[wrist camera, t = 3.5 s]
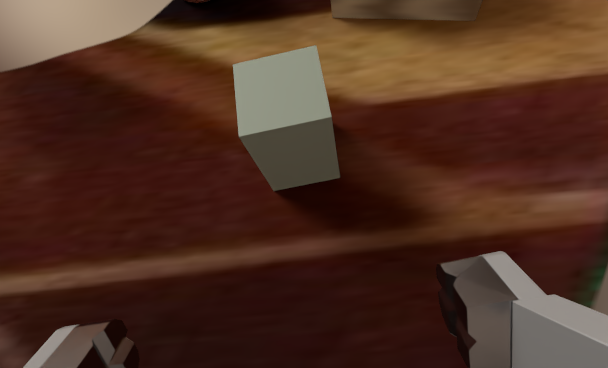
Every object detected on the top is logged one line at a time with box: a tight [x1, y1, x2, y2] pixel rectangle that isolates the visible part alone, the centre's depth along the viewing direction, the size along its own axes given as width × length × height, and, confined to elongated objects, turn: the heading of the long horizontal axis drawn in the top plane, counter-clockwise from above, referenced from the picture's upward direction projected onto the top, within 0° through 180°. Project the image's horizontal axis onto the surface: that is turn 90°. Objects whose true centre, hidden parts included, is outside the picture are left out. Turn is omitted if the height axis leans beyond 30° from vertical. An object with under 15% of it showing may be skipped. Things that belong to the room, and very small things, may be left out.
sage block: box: [233, 45, 340, 191], centre depth 23 cm, size 5×5×8 cm
